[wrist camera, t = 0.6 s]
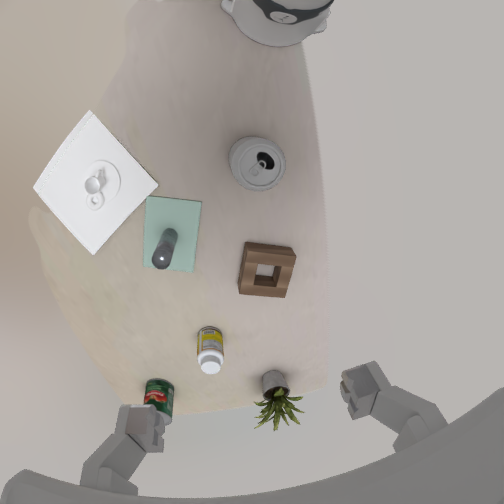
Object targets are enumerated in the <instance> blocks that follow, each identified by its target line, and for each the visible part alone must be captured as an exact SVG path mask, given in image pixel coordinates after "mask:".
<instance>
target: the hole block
mask: <svg viewBox="0 0 504 504" xmlns="http://www.w3.org/2000/svg"><path fill="white" fill-rule="evenodd" d="M295 260H296V255H295V253H294V252H293V250H292V248H290V247H282V246H274V245H266V244H259V243H251V242H245V247H244V252H243V257H242V263H241V268H240V273H239V278H238V289H239V294H244V295H255V296H267V297H280V298H285V295H286V292H287V289H288V285H289V282H290V278H291V275H292V271H293V267H294V264H295ZM258 264H265V265H274V266H275V269H274V273H273V277H270V276H260V275H256V270H257V266H258Z"/></svg>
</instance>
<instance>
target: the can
mask: <svg viewBox="0 0 504 504" xmlns="http://www.w3.org/2000/svg"><path fill="white" fill-rule="evenodd" d="M229 164H230V167H231V170H232V172H233V175H234V178H235V179H236V180H237V181H238V183H239V184H240V185H242V186H243V187H244V188H246V189H249V190H252V191H265V190H268V189H271V188H272V187H274V186H275V185H277V184H278V183H279V181H280V180H281V179H282V177H283V175H284V172H285V170H286V160H285V157H284V153H283V152H282V150H281V149H280V147H279V146H278V145H276V144H275V143H274V142H272V141H270V140H267V139H264V138H259V137H245V138H242V139H240V140H238V141H237V142H235V144H234V145H233V146H232V148H231V150H230V153H229Z"/></svg>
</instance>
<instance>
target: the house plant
mask: <svg viewBox="0 0 504 504" xmlns="http://www.w3.org/2000/svg"><path fill="white" fill-rule="evenodd" d="M289 393H290V389H289V387H288V385H287V384H286V382H285V380H284V378H283V376H282V374H281V373H280V372H279V371H276V370H273V371H269V372H267V373H265V374H264V376H263V398H264V399H265V400H267V401H268V402H267V403H262V402H264V401H265V400H264V401H262V402H260V403H255V402H254V403H255V404H256V405H258V406H264V405H267V404H268V405H267V406H266V407H265V408H264V409H262V411H261V413H262V415H260V416H261V417H260V416H259V417H256V418H263V417H264V419H263V420H262V421H261V422H259V423H260V424H259V425H258V426H257V427H259V426H261V425H262V424H264V423H265V422H268V421H269V420H271V419H272V418H274V420H273V423H274V431H275V430H277V428H278V424H279V420H280V415H281V416H282V418H283V419H284V421H285V422H286V423H287V425H288V422H287V420H286V417H285V415H284V414H288V416H289V418H290V419H291V420H293V421H294V422H296V423H297V424H300V423H299V422H298V420H297V418H296V417H295V416H294V414H293V412H292V410H291V409H293V410H295V411H297V412H301V413H304V412H302V411H300V410H299V409H297V408H295V407H294V405H293V404H292V403H291V402H289V401H288V400H287V399H289V400H293V401H298V400H300V399H302V398H303V397H287V396H288V395H289ZM286 398H287V399H286ZM273 402H274V403H273ZM272 405H273V406H272ZM282 407H283V408H284V409H285V411H286V413H285V412H284V411H283V409H282ZM274 411H275V415H274V416H273V417H272V418H271V419H269V420H268V418H269V417H270V416H271V414H273V412H274ZM266 412H268V413H267V414H266V415H264V414H265V413H266ZM263 415H264V416H263ZM257 427H255V428H257Z"/></svg>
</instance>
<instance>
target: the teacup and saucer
mask: <svg viewBox="0 0 504 504" xmlns="http://www.w3.org/2000/svg"><path fill="white" fill-rule="evenodd" d="M81 187H82V190H83V193H84V194H85V196H86V197H85V204H86V206H87V208H88V209H89V210H91V211H93V212H97V211H99V210H100V209H101V208H102V207H103V206H104V204H107V203H110V202H111V201H112V200H114V199H115V197H116V196H117V195H118V193H119V191H120V188H121V177H120V173H119V171H118V169H117V168H116V167H115V166H114V165H113V164H112V163H111V162H109V161H107V160H103V159H99V160H95V161H93V162H91V163H90V164H89V165H88V166H87V167H86V168H85V170H84V171H83V174H82V177H81Z"/></svg>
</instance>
